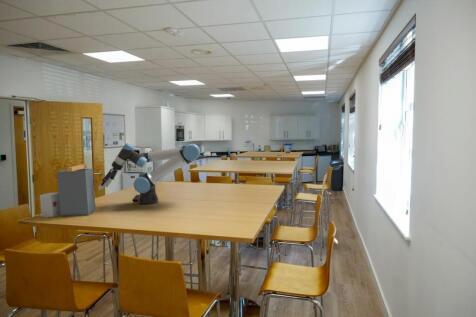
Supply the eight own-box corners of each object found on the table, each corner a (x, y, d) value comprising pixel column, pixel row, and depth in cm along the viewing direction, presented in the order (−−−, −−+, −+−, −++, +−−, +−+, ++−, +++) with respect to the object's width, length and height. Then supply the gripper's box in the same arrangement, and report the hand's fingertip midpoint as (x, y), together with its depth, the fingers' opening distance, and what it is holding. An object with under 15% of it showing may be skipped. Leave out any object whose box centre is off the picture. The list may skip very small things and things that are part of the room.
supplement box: (52, 217, 217) (50, 195, 216) (41, 217, 219) (39, 195, 217) (62, 214, 226) (60, 192, 224) (51, 213, 227) (49, 192, 226)
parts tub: (95, 210, 232) (92, 168, 229) (88, 215, 219) (85, 170, 216) (69, 212, 231) (65, 169, 228) (60, 216, 218) (56, 171, 215)
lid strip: (86, 167, 238) (86, 164, 238) (72, 171, 214) (71, 167, 214) (82, 167, 238) (82, 164, 238) (67, 171, 214) (67, 167, 214)
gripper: (119, 159, 248) (104, 182, 248) (108, 161, 223) (91, 187, 224) (127, 164, 249) (112, 187, 249) (118, 167, 224) (101, 193, 224)
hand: (102, 187), depth 236 cm, fingers open, 13 cm apart
